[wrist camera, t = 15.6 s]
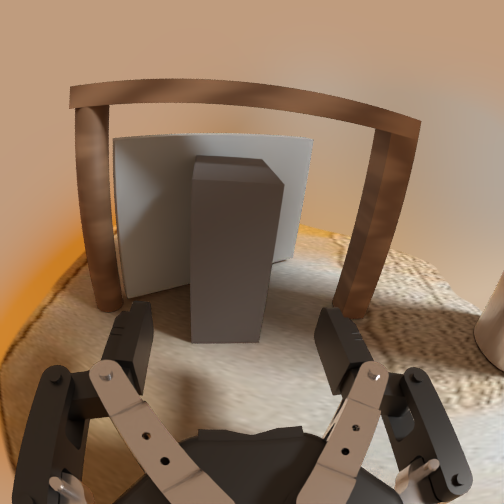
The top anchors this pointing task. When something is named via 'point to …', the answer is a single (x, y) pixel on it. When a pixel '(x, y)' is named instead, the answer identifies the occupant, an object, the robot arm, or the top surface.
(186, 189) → the door
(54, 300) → the top surface
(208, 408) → the top surface
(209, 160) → the block
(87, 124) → the door frame
